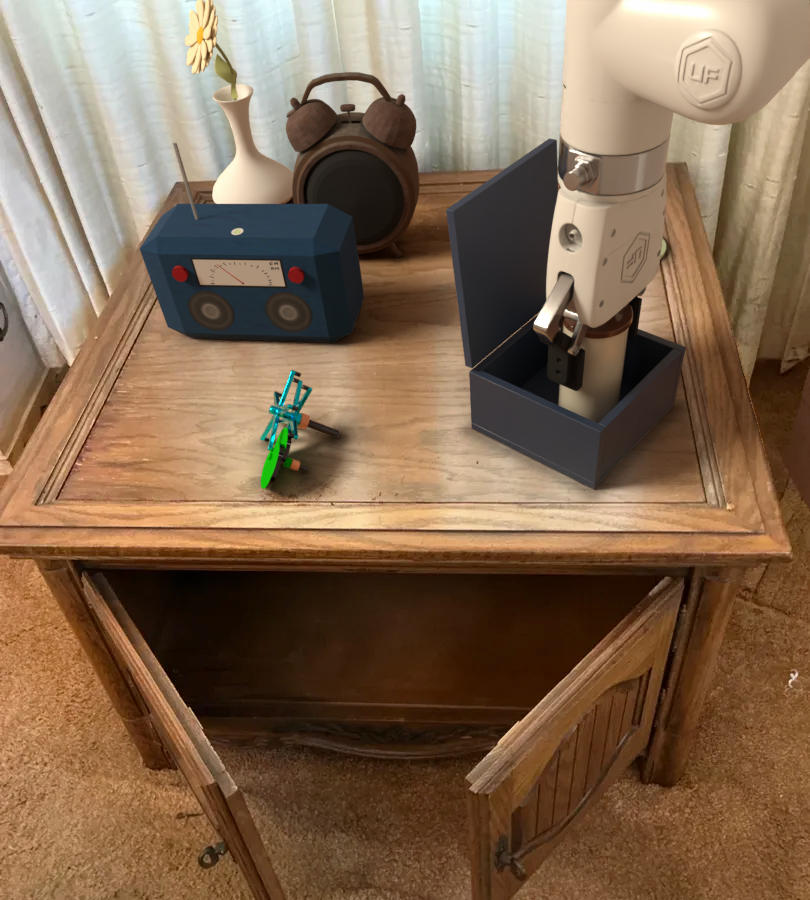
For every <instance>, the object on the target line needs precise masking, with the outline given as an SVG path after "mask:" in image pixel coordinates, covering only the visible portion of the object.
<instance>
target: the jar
mask: <svg viewBox="0 0 810 900" xmlns="http://www.w3.org/2000/svg"><path fill="white" fill-rule="evenodd" d="M567 308H570V309H572V310H575V311H576V308H575V304H574V301H572V300H571V301H570V303H569V305H568V306H567ZM632 319H633V310H632V307H631V305H630V304H629V303H628V304H627V305H626V306H624V307H623V308H622V309H621V310H620V311H619V312H618V313H617V314H615V315H614V316H613V317H612V318H611V319H610V320H608V321H607V322H606V323H604V324H602V325H601V326H598V327H596V328H592V327H588V330H587V332H586V335H585V338H584V340H583V343H582V346H581V348H582V349H584V350H585V361H584V372H583V383H582V387H581V388H580V389H579V390H578V391H574V390H572V389H569V388H567V387H565V386H563V385H560V384H559V398H558V405H559V406H561V407H563V408H565V409H567V410H570V411H572V412H574V413H576V414H578V415H581V416H583V417H585V418H587V419H589V420H592V421H594V422H596V423H599V422H600V421H601V420H602V419H603V418H604V417H605V416H606V415H607V414H608V413H609V412H610V411H611V410H612V409H613V408H614V407H615V406H616V405H617V404H618V403H619V398H620V390H621V383H622V375H623V368H624V360H625V353H626V345H627V337H628V330H629V326H630V325H631V323H632ZM576 324H577V321H574V320H572V319H569V318H567V317H565V319H564V322H563V333H565V334H567V335H568V336H570V337H572V335H573V332H574V330H575V327H576Z"/></svg>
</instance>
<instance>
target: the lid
mask: <svg viewBox="0 0 810 900" xmlns="http://www.w3.org/2000/svg"><path fill="white" fill-rule="evenodd" d="M558 191H559V183H558V140H557V139H556V138H555V139H554V138H548V139H545V140H544V141H543V142H542V143H541V144H539V145H537V146H536V147H534V148H533V149H531V150H530V151H528V152H527V153H526V154H524V155H523V156H522V157H520V158H518V159H517V160H515V161H514V162H512V163H511V164H510V165H508V166H507V167H506V168H504V169H502V170H501V171H500V172H498V173H497V174H495V175H494V176H492V177H490V178H489V179H487V180H486V181H485V182H484V183H482V184H480V185H479V186H478V187H477V188H475V189H474V190H472V191H471V192H469V193H468V194H467V195H465V196H463V197H462V198H460V199H459V200H457V201H456V202H455V203H453V204H452V205H450V206H449V207H448V208H446V209H445V213H446V220H447V227H448V237H449V245H450V252H451V253H450V254H451V262H452V270H453V276H454V284H455V293H456V301H457V309H458V317H459V326H460V333H461V340H462V341H461V342H462V348H463V350H462V351H463V357H464V366H465V367H467V368H469V369H473V368H474V367H475V366H477V365H478V364H479V363H480V362H481V361H483V360H484V359H485V358H486V357H487V356H488V355H490V354H491V353H492V352H493V351H494V350H496V349H497V348H498V347H499V346H500V345H502V344H503V343H504V342H505V341H506V340H508V339H509V338H510V337H511V336H512V335H514V334H515V333H516V332H517V331H518V330H519V329H521V328H522V327H523V326H524V325H525V324H527V323H528V322H529V321H530V320H531V319H533V318H534V317H535V316H536V315H537V314H539V313H540V311H541V310H542V308H543V306H544V304H545V302H546V301H547V300H546V277H547V263H548V253H549V244H550V236H551V229H552V223H553V217H554V211H555V206H556V201H557V196H558Z"/></svg>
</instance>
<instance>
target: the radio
mask: <svg viewBox="0 0 810 900" xmlns="http://www.w3.org/2000/svg"><path fill="white" fill-rule="evenodd" d="M172 146H173V151H174V153H175V157H176V159H177V163H178V166H179V169H180V173H181V176H182V180H183V183H184V186H185V190H186V193H187V197H188V200H189V203H177V204H176V205H174V206H172V207H171V208H170V209H169V210H167V211H166V212H165V213H163V214H162V215H161V216H160V217H159V218H158V220H157V222H156V223H155V224H154V226H153V228H152V229H151V231H150V232H149V234H148V235H147V237H146V238H145V239H144V241H143V243H142V244H141V246H140V247H139V252H140V255H141V257H142V260H143V263H144V265H145V267H146V271H147V273H148V276H149V279H150V282H151V284H152V287H153V290H154V293H155V296H156V299H157V301H158V304H159V306H160V309H161V312H162V315H163V318H164V320H165V324H166V326H167V328H169V329H170V330H173V331H175V332H177V333H179V334H182V335H184V336H185V337H188V338H190V339H207V340H208V339H209V340H210V339H211V340H214V339H215V340H241V341H272V342H273V341H274V342H305V343H308V342H309V343H336V342H337V341H338V340H341V339H343V338H344V337H346V336H348V335H351V334H352V333H353V332H354V328H355V325H356V323H357V320H358V317H359V314H360V311H361V308H362V305H363V302H364V299H365V291H364V285H363V278H362V272H361V265H360V259H359V254H358V250H357V243H356V236H355V230H354V223H353V217H352V216H350V215H348V214H347V213H345V212H343V211H341V210H339V209H337V208H335V207H333V206H331V205H329V204H294V203H285V204H216V203H195V201H194V197H193V194H192V191H191V187H190V183H189V180H188V177H187V174H186V170H185V167H184V163H183V160H182V157H181V153H180V150H179V146H178V143H177V142H172Z"/></svg>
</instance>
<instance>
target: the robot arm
mask: <svg viewBox="0 0 810 900" xmlns="http://www.w3.org/2000/svg"><path fill="white" fill-rule="evenodd" d="M565 2H566V4H565V21H564V22H565V23H564V24H565V25H564V44H563V61H562V81H561V103H560V105H561V106H560V107H561V108H560V125H559V141H558V142H559V143H558V159H557V165H558V186H559V187H560V188H558V196H557V201H556V206H555V211H554V217H553V223H552V229H551V236H550V244H549V253H548V263H547V277H546V300H547V301H546V302H545V304H544V306H543V308H542V310H541V311H540V312H539V313H538V314H539V315H538V317H537V319H536V320H535V322H534V325H533V330H534V331H535V332H536V334H537V335H538V336H539V337H540V340H541V341H542V342H544V343H545V344H546V345H548V364H547V377H548V379H549V380H551V381H554V382H556V383H558V384H560V385H563V386H565V387H567V388H569V389H572V390H574V391H578V390H579V389H580V388H581V387H582V383H583V372H584V361H585V350H584V349H582V348H581V346H582V343H583V340H584V338H585V335H586V332H587V330H588V327H592V328H596V327H598V326H601V325H602V324H604V323H606V322H607V321H608V320H610V319H611V318H612V317H613V316H614V315H615V314H617V313H618V312H619V311H620V310H621V309H622V308H623V307H624V306H626V305H627V304H628V303H629V304H630V305H631V307H632V310H633V319H632V323H631V325H630V326H629V330H628V337H627V339H633V338H634V337H635V336H636V335H637V332H638V329H639V324H640V316H641V310H642V303H643V298H641V297H642V296H643V295H644V294H645V292H646V291H647V287H648V285H649V284H651V282H653V280H654V279H655V277H656V275H657V274H658V273H659V270H660V262H661V259H660V257H661V249H662V240H663V239H664V231H665V218H666V207H667V205H666V204H667V169H666V168H667V167H666V166H667V160H668V155H669V154H668V153H669V146H670V140H671V134H672V133H671V132H672V125H673V118H674V114H676V115H678V116H681V117H684V118H686V119H688V120H690V121H694V122H697V123H700V124H705V125H709V126H710V125H712V126H726V125H731V124H737V123H740V122H742V121H745V120H746V119H749V118H751V117H753V116H754V115H756V114H757V113H758V112H759V111H761V110H762V109H764V108H765V107H766V106H767V105H768V104H769V103H770V102H771V101H772V100H773V99H774V98H775V97H776V96H777V95H778V94H779V93H780V92H781V90H782V89H783V88H784V87H785V86H786V85H787V84H788V83H789V82H790V81H791V80H792V78H793V77H795V75H796V74H797V72H798V71H799V70H800V69H801V68H802V67H803V66H804V65H805V64H806V63H807V62H808V61H809V60H810V0H566V1H565ZM571 300H572V301H574V304H575V308H576V311H575V310H572V309H570V308H567V306H568V305H569V303H570V301H571ZM565 317H567V318H569V319H572V320H574V321H577V324H576V327H575V330H574V332H573V335H572V337H570V336H568V335H567V334H565V333H563V332H561V331H560V330H561V328H562V325H563V322H564V319H565Z"/></svg>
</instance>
